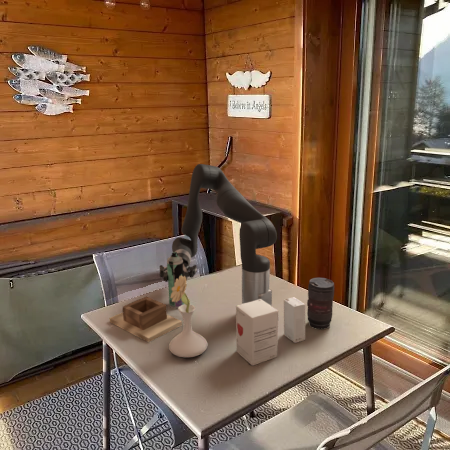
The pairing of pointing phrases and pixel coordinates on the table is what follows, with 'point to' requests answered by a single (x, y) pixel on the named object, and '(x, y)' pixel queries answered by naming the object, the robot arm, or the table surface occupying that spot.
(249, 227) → the robot arm
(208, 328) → the table surface
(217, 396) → the table surface
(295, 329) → the skincare box
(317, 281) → the camera lens
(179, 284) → the flower in vase
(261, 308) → the supplement box
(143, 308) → the can holder
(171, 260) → the spray can
